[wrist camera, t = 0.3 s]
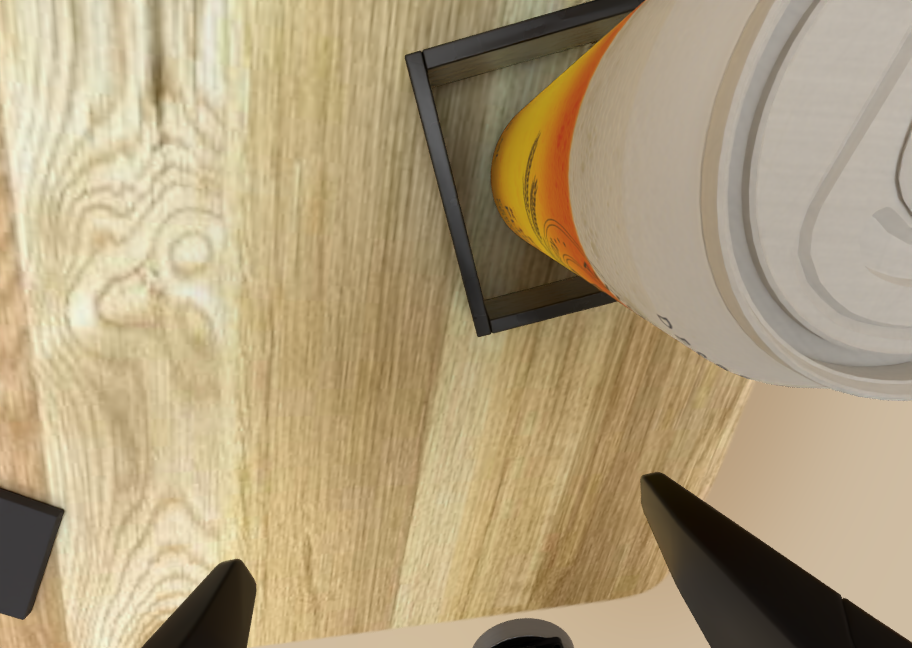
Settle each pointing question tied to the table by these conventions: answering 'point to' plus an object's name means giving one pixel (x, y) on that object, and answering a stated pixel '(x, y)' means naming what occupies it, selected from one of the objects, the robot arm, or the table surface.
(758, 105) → the beer can
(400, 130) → the table surface
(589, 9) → the black square frame
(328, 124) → the table surface
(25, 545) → the mat
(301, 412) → the table surface
